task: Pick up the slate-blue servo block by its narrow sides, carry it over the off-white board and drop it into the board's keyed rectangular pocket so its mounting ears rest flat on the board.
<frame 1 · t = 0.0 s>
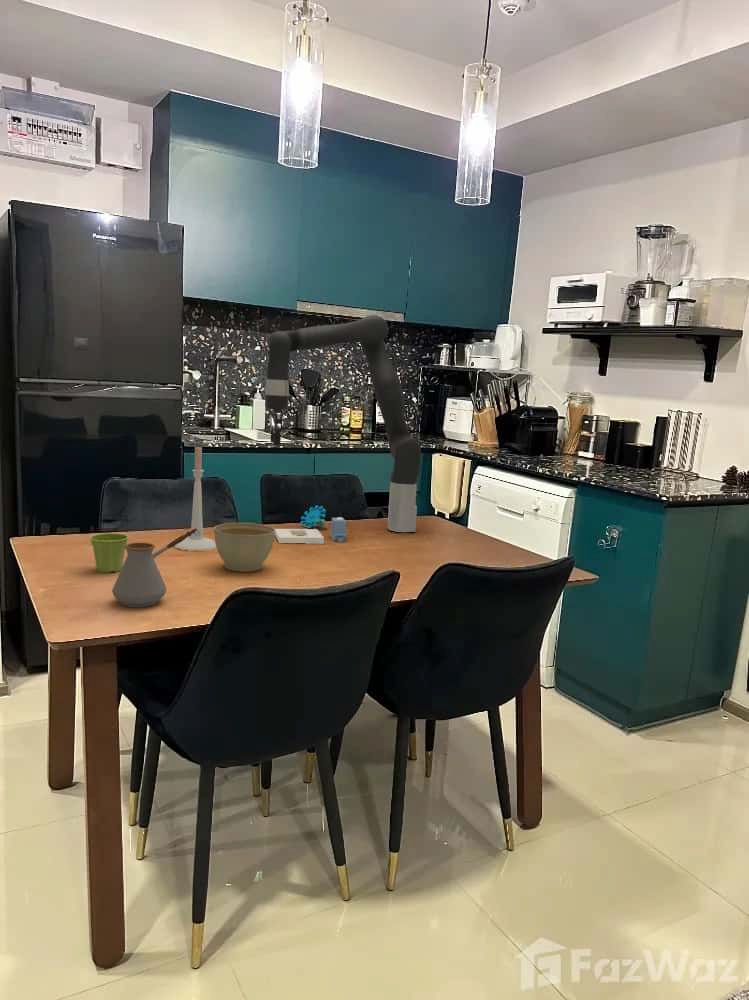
hand: (275, 443, 242), 29 cm above the table, tool pointing down, fingers open, 8 cm apart
servo: (337, 539, 240), on the table
chassis board: (298, 539, 236), on the table
candlestick: (196, 547, 218), on the table
plant pot: (109, 570, 188), on the table
coffee pot: (158, 598, 167), on the table
blue coral: (313, 528, 256), on the table
planter bowl: (243, 568, 197), on the table
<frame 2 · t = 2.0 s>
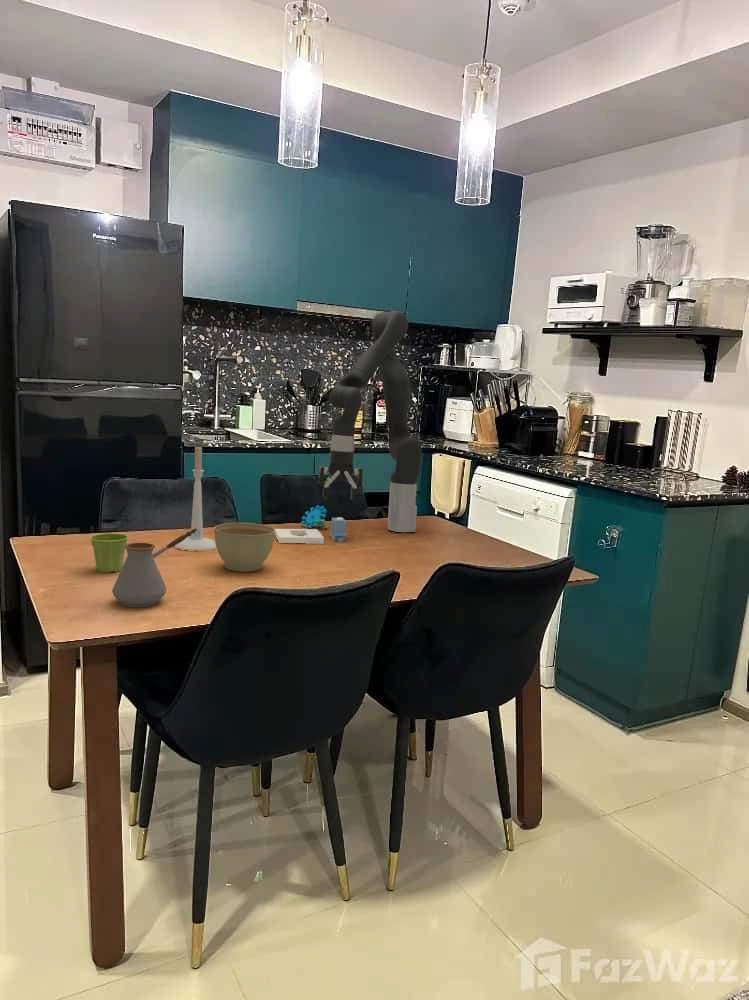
hand: (339, 499, 238), 13 cm above the table, tool pointing down, fingers open, 8 cm apart
nothing on the table moved.
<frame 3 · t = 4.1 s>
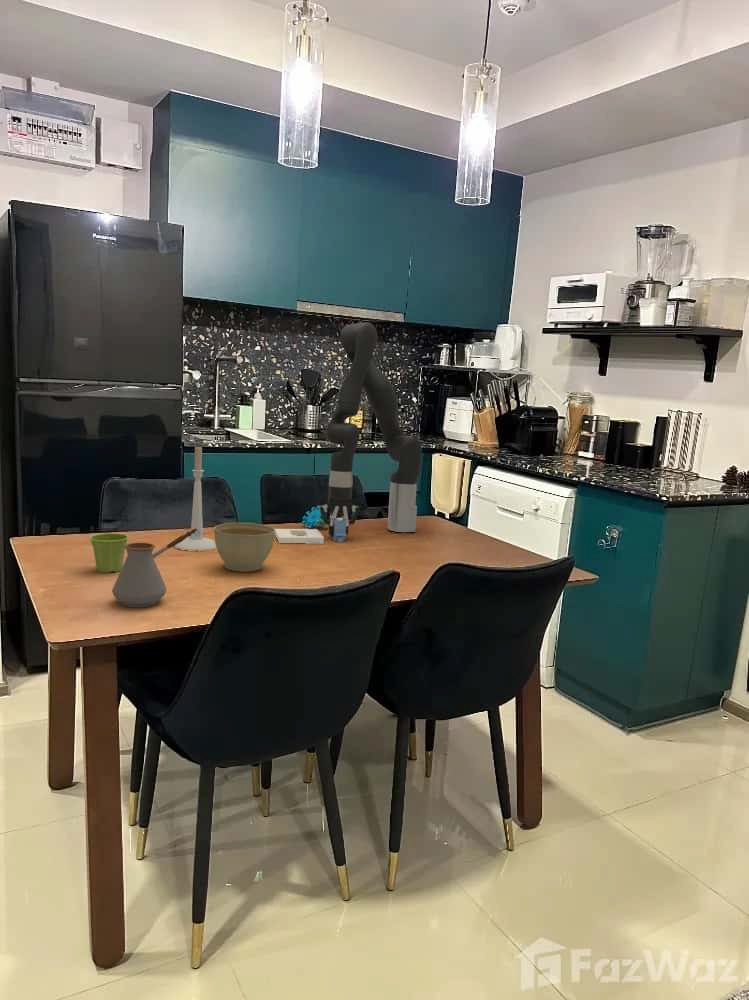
hand: (338, 536, 240), 1 cm above the table, tool pointing down, fingers closed on servo, 3 cm apart
servo: (337, 539, 240), on the table, touching gripper
everything else where it was.
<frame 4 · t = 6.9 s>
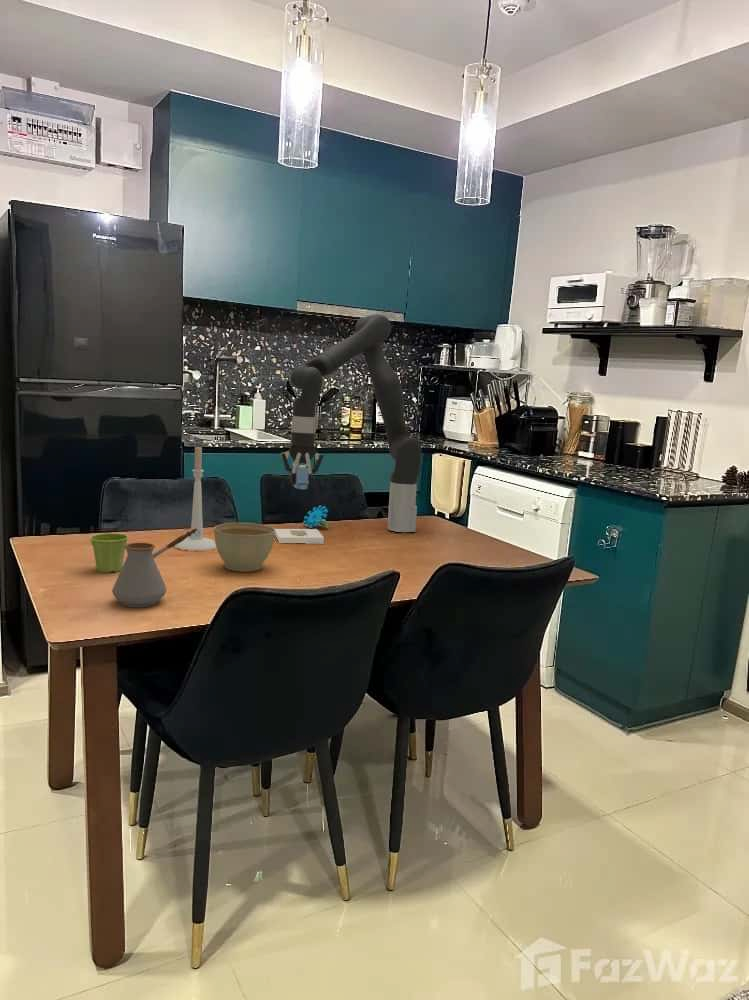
hand: (300, 484, 234), 18 cm above the table, tool pointing down, fingers closed on servo, 3 cm apart
servo: (300, 487, 234), point 17 cm above the table, touching gripper
everything else where it was.
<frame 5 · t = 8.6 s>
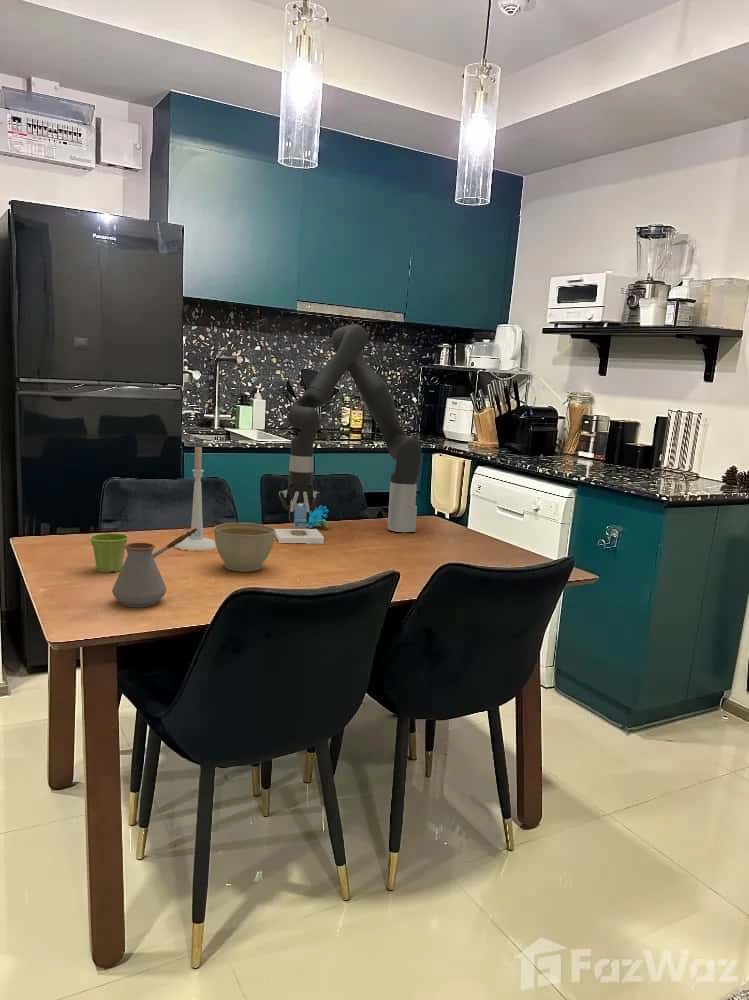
hand: (298, 522, 236), 5 cm above the table, tool pointing down, fingers closed on servo, 3 cm apart
servo: (298, 525, 236), point 4 cm above the table, touching gripper
when the fingers open (3 cm above the table, at t = 9.7 s): servo drops 2 cm, resting on chassis board.
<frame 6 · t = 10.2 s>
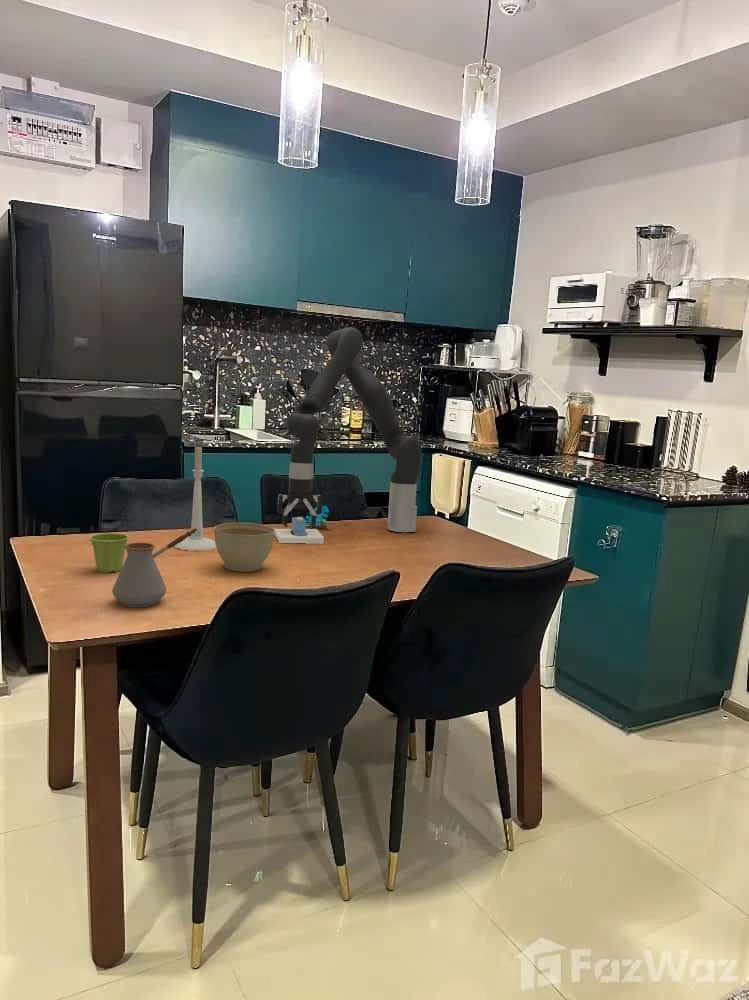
hand: (298, 526, 236), 4 cm above the table, tool pointing down, fingers open, 8 cm apart
servo: (298, 538, 236), resting on chassis board
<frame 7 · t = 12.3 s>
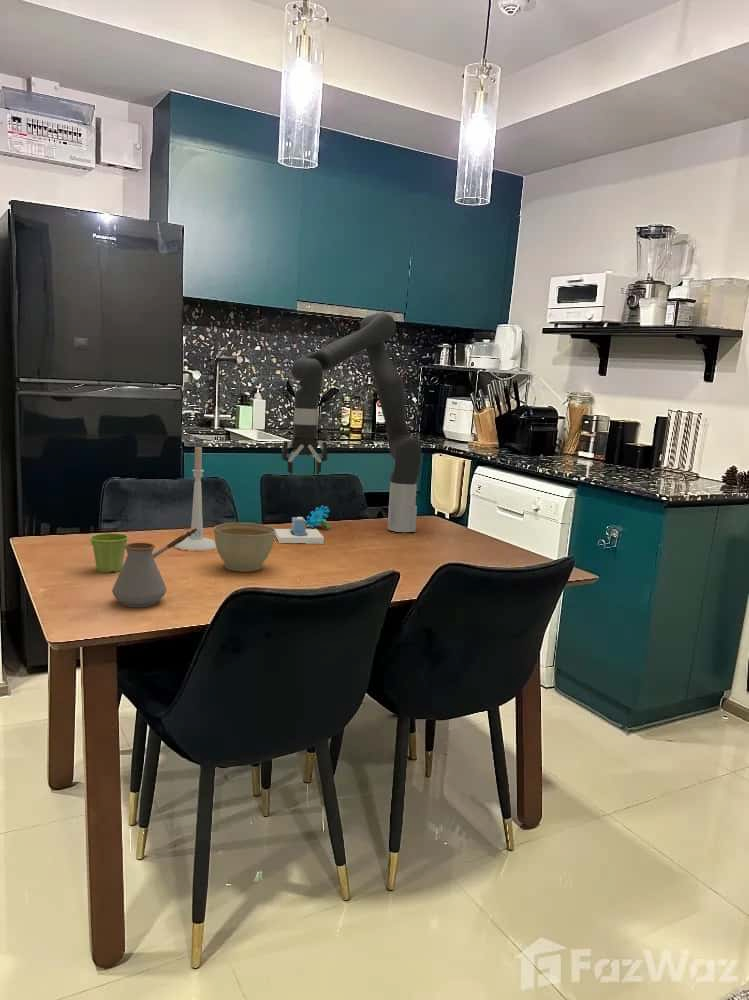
hand: (304, 473, 234), 21 cm above the table, tool pointing down, fingers open, 8 cm apart
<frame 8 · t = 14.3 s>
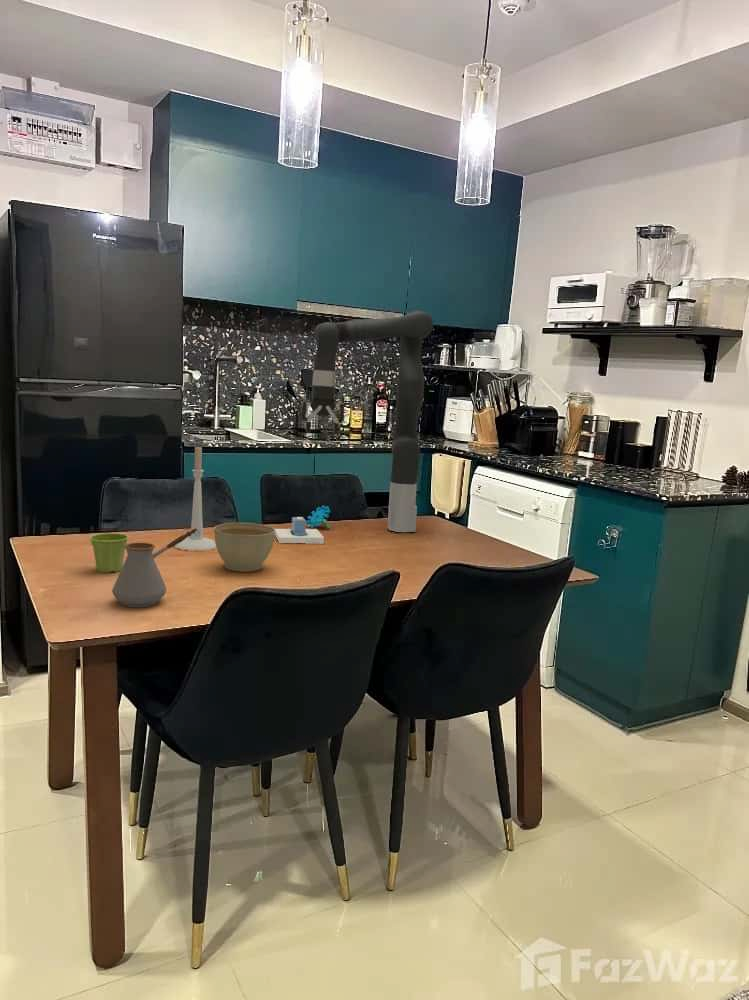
hand: (321, 434, 244), 33 cm above the table, tool pointing down, fingers open, 8 cm apart
at the end: servo 0.1 cm off-centre on the chassis board, point 0.0 cm above the chassis board's base; servo tilted 0°; the gripper is holding nothing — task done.
